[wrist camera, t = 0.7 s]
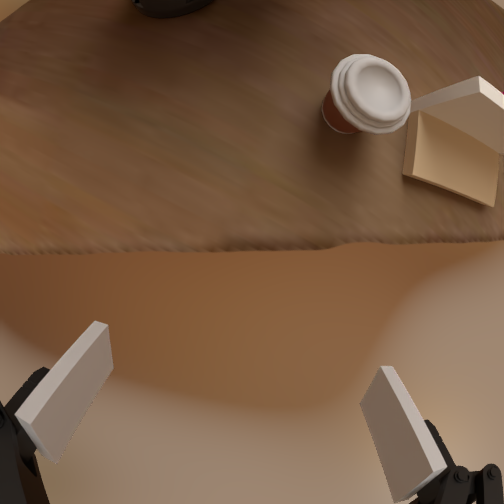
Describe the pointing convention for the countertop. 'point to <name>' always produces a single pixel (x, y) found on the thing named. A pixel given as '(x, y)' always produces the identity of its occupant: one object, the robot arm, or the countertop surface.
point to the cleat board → (457, 139)
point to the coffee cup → (366, 96)
